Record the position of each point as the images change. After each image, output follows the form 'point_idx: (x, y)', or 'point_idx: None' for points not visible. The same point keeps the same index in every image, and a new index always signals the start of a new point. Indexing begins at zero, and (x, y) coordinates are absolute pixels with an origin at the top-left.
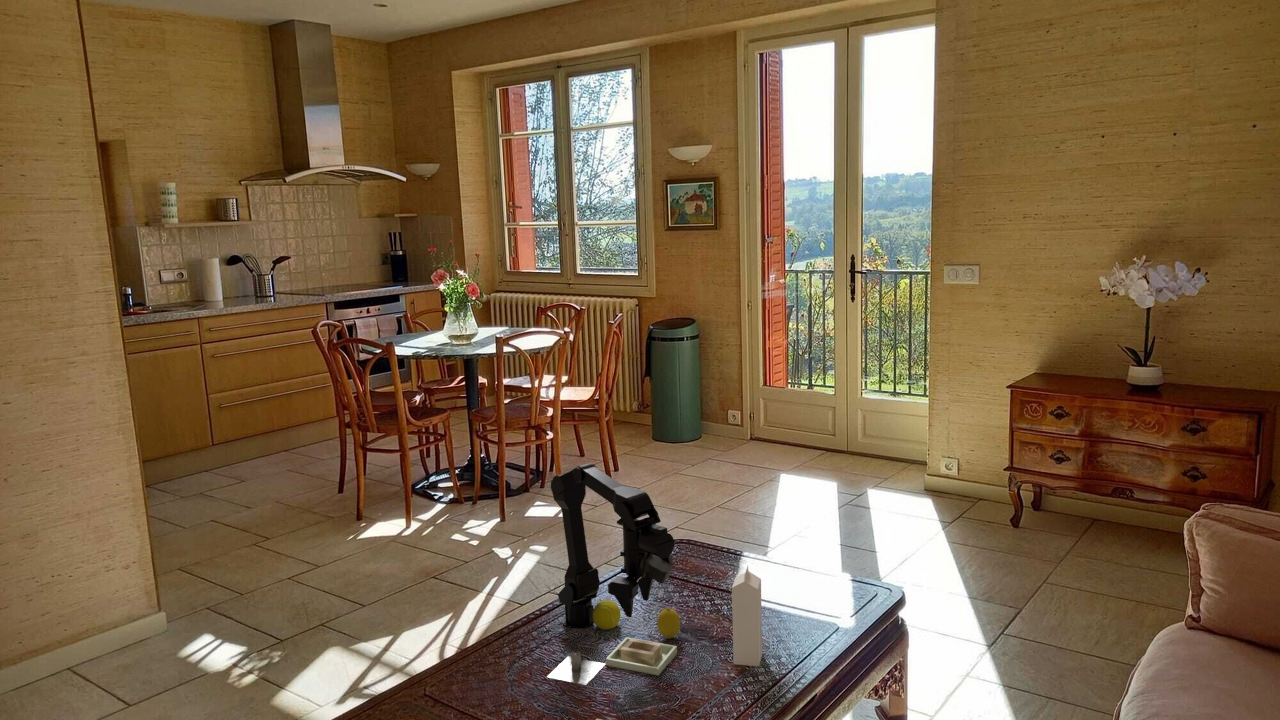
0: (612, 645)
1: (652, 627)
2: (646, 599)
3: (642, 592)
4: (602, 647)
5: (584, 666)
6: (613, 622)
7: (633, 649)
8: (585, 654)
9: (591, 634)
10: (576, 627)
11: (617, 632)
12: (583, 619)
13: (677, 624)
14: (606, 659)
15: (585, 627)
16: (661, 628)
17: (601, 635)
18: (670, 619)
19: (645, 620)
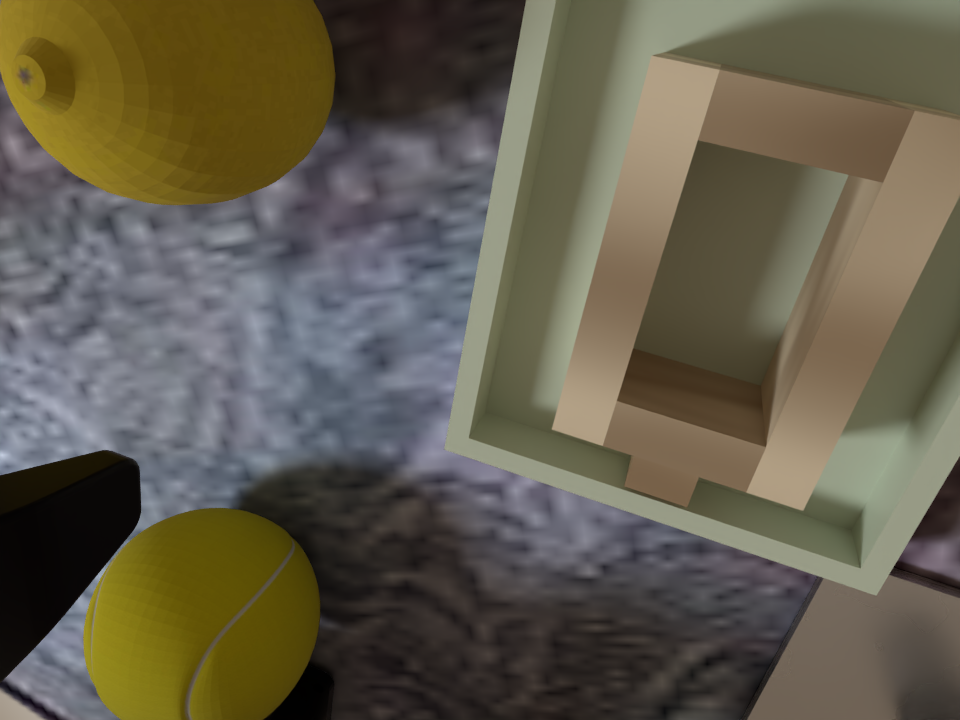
0: (494, 511)
1: (166, 250)
2: (120, 485)
3: (9, 640)
4: (535, 574)
5: (883, 698)
6: (277, 563)
7: (815, 383)
8: (652, 674)
9: (374, 637)
10: (328, 717)
11: (307, 488)
12: (273, 717)
13: None
14: (878, 586)
15: (318, 677)
16: (302, 136)
17: (372, 582)
18: (200, 15)
19: (96, 317)
